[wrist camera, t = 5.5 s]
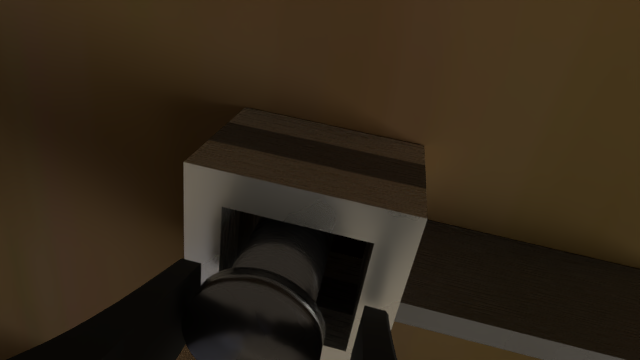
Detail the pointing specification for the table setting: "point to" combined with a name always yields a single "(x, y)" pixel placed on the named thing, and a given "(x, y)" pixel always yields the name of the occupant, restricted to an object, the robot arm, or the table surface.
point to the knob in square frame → (399, 244)
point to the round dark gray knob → (263, 299)
